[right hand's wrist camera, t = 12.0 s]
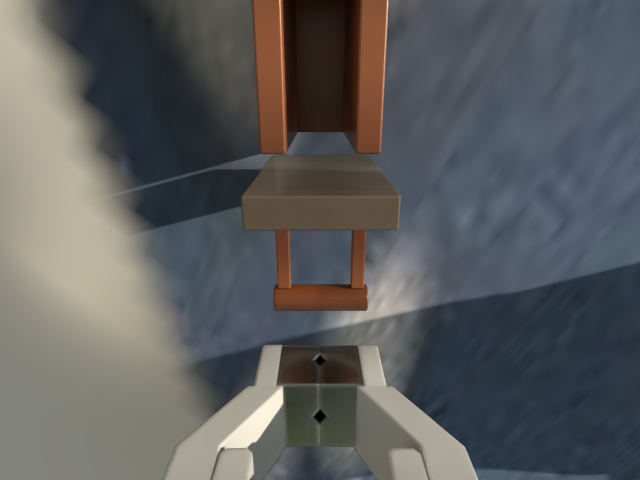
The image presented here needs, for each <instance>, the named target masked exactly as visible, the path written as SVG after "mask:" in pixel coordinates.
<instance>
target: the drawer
mask: <svg viewBox="0 0 640 480" xmlns="http://www.w3.org/2000/svg"><path fill="white" fill-rule="evenodd" d="M388 4H389V0H252V6H253V25H254V43H255V61H256V79H257V98H258V116H259V134H260V152H261V154H285V153H286V151H287V150H288V148H289V146H290V145H291V143H292V141H293V139H294V138H295V136H296V134H297V133H298V132H344V134H345V135H346V137H347V139H348V140H349V142H350V144H351V145H352V147H353V149H354V150H355V152H356V153H357V154H379V153H380V152H381V140H382V120H383V101H384V82H385V62H386V43H387V23H388ZM400 201H401V197H400V195H399V194H398V192H397V191H396V190H395V189H394V187H393V186H392V185H391V183H390V182H389V181H388V180H387V178H386V177H385V176H384V174H383V173H382V172H381V171H380V169H379V168H378V167H377V165H376V164H375V163H374V162H373V160H372V159H371V158H370V156H368V155H338V156H272V157H271V158H270V160H269V161H268V162H267V164H266V165H265V166H264V167H263V169H262V170H261V171H260V173H259V174H258V175H257V177H256V178H255V179H254V180H253V182H252V183H251V184H250V186H249V187H248V188H247V190H246V191H245V192H244V193H243V195H242V196H241V206H242V220H243V229H244V230H276V251H277V274H278V285H275V288H274V309H275V311H366V310H367V308H368V289H367V285H365V284H364V269H365V244H366V230H398V228H399V215H400ZM290 230H352V245H351V281H350V283H351V284H310V285H291V257H290Z"/></svg>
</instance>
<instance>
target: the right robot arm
mask: <svg viewBox="0 0 640 480" xmlns="http://www.w3.org/2000/svg"><path fill="white" fill-rule="evenodd" d="M306 446H333V447H355V450H356V451H357V453H358V454H359V456H360V457H361V458H362V460H363V461H364V462H365V464H366V465H367V467H368V468H369V469H370V471H371V472H372V474H373V475H374V476H375V478H376V479H377V480H478V478H477V475H476V473H475V471H474V468H473V466H472V463H471V461H470V458H469V456H468V454H467V451H466V449H465V447H464V446H463V445H462V444H461V443H460V442H458V441H457V440H456V439H455V438H454V437H452V436H451V435H450V434H449V433H448V432H446V431H445V430H444V429H443V428H442V427H440V426H439V425H438V424H437V423H436V422H434V421H433V420H432V419H431V418H430V417H428V416H427V415H426V414H425V413H424V412H422V411H421V410H420V409H419V408H418V407H416V406H415V405H414V404H413V403H412V402H410V401H409V400H408V399H407V398H406V397H405V396H403V395H402V394H401V393H400V392H399V391H397V390H396V389H395V388H394V387H393V386H386V382H385V377H384V373H383V369H382V365H381V360H380V356H379V352H378V347H377V346H376V345H357V346H316V345H264V346H263V348H262V351H261V356H260V360H259V364H258V369H257V373H256V377H255V382H254V386H247V387H246V388H245V389H244V390H243V391H241V392H240V393H239V394H238V395H237V396H235V397H234V398H233V399H232V400H231V401H229V402H228V403H227V404H226V405H225V406H223V407H222V408H221V409H220V410H219V411H217V412H216V413H215V414H214V415H213V416H211V417H210V418H209V419H208V420H207V421H205V422H204V423H203V424H202V425H201V426H199V427H198V428H197V429H196V430H195V431H193V432H192V433H191V434H190V435H189V436H187V437H186V438H185V439H184V440H183V441H181V442H180V443H179V444H178V445H177V446H176V447H175V449H174V452H173V454H172V456H171V459H170V461H169V464H168V466H167V468H166V471H165V473H164V476H163V478H162V480H264V478H265V477H266V475H267V474H268V473H269V471H270V470H271V468H272V467H273V466H274V464H275V463H276V462H277V460H278V459H279V457H280V456H281V455H282V453H283V452H284V450H285V447H306Z"/></svg>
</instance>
